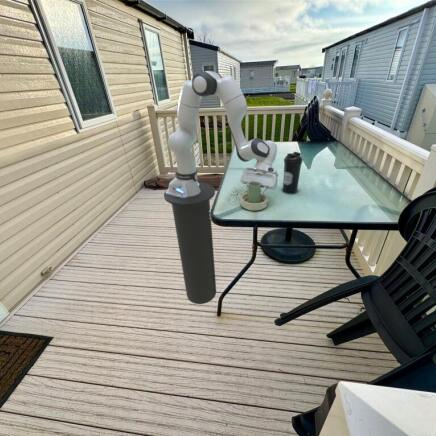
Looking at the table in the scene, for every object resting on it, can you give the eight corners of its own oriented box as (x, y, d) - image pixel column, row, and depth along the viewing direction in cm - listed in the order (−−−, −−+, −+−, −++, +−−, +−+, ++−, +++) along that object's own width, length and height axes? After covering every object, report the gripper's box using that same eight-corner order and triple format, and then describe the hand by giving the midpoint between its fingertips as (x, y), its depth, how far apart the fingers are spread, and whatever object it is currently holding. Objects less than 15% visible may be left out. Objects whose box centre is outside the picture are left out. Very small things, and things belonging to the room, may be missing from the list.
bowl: (238, 209, 130) (238, 202, 128) (244, 198, 142) (244, 191, 140) (264, 213, 126) (264, 205, 124) (269, 201, 138) (269, 193, 136)
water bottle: (277, 190, 150) (280, 153, 138) (288, 185, 155) (292, 149, 143) (291, 195, 143) (295, 157, 131) (301, 190, 148) (307, 153, 136)
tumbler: (246, 205, 132) (247, 185, 126) (249, 200, 137) (249, 180, 131) (258, 207, 130) (259, 186, 124) (261, 201, 136) (262, 181, 129)
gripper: (243, 164, 134) (234, 187, 132) (278, 170, 125) (270, 195, 123) (246, 169, 139) (238, 191, 137) (281, 175, 130) (273, 199, 128)
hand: (253, 193), depth 130 cm, fingers closed on tumbler, 6 cm apart
